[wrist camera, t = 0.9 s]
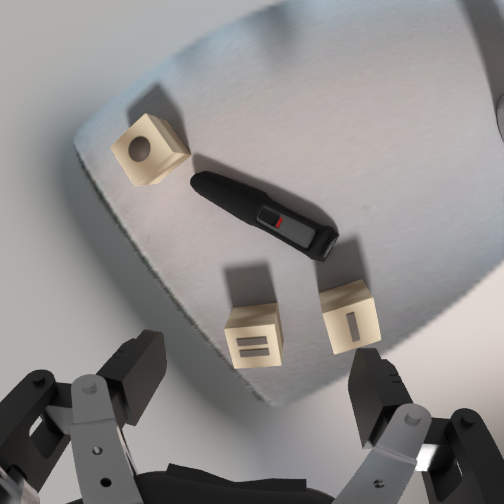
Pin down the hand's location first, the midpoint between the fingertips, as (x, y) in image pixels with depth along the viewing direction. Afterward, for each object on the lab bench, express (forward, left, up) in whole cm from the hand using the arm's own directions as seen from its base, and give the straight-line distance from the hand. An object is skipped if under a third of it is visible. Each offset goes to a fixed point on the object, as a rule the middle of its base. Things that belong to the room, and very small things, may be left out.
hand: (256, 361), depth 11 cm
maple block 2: (+4, +9, -20) cm, 22 cm away
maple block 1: (+11, -12, -20) cm, 25 cm away
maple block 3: (-6, +8, -20) cm, 22 cm away
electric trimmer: (+1, -3, -20) cm, 20 cm away
